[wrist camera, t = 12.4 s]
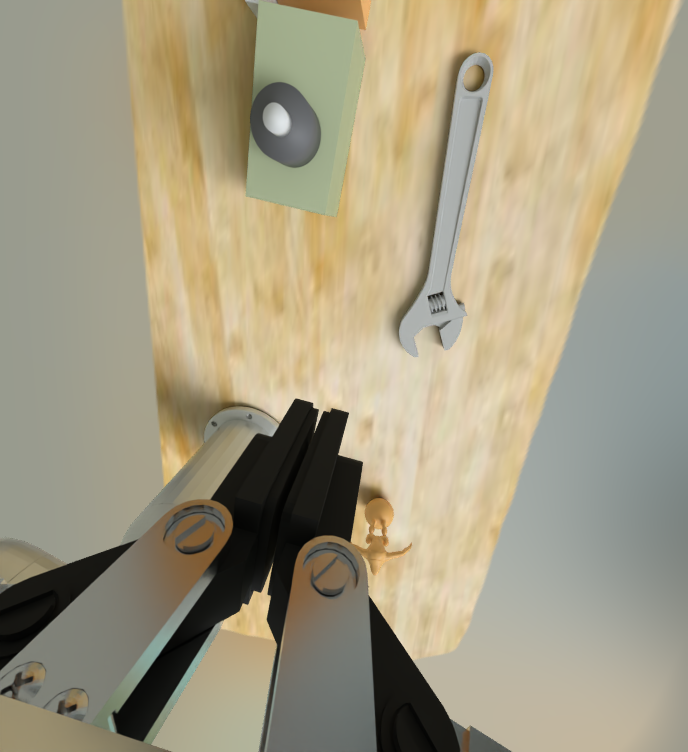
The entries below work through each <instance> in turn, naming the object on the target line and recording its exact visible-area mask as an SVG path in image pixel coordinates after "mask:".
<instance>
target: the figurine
mask: <svg viewBox="0 0 688 752" xmlns="http://www.w3.org/2000/svg"><path fill="white" fill-rule="evenodd" d="M393 516H394V512H393V508H392V506H391V504H390V503H389V502H388V501H386V500H385V499H382V498H375V499H373V500H371V501H370V502H369V503H368V504H367V506H366V509H365V517H366V520H367V522H368V523H369V525H370V527H369V532H370V534H368V535H367V538H366V542H367V544H370V543H371V544H370V546H369V547H368V548H367V549H363V548H361V547H359V546H357V545H354V544H352V542H350V543H351V544H352V545H353V546H354V547H355V548H356V549H357V550H358V551H359V552H360V554H361V555H362V556H364V557H365V558H366V559H367V560H368V561H369V564H370V568H371V571H372V573H373V575H377V574H378V572H379V570H380V568H381V566H382V564H383V563H384V562H386V561H388V560H391V559H393V558H398V557H401V556H403V555H405V554H406V553H407V552H408V551H409V550H410V549H411V546H412V543H411V544H410V546H408V547H407V548H405V549H404V550H402V551H398V552H392V553H388V552H386V550H385V548H384V546H388V544H389V542H388V538H387V537H386V534H387V528H386V527H388V526H389V525H390V524H391V522H392V520H393ZM375 528H376V529H382V534H383V536H380V537H379V536H375V535H373V532H374V529H375Z"/></svg>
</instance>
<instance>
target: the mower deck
mask: <svg viewBox="0 0 688 752" xmlns="http://www.w3.org/2000/svg"><path fill="white" fill-rule="evenodd" d="M245 2H246V3H247V5H248V6H249V7H250V9H251V10H252V12H253V13H254V15H255V16H256V18H257V33H256V48H255V64H254V79H253V94H252V108H251V114H250V139H249V154H248V169H247V185H246V196H247V197H251V198H255V199H259V200H264V201H268V202H272V203H276V204H280V205H284V206H289V207H293V208H297V209H301V210H305V211H309V212H314V213H318V214H322V215H327V216H333V217H337V213H338V207H339V202H340V196H341V191H342V185H343V180H344V174H345V169H346V163H347V158H348V152H349V147H350V141H351V136H352V130H353V125H354V119H355V114H356V108H357V103H358V97H359V92H360V86H361V81H362V75H363V70H364V64H365V54H364V49H363V44H362V40H361V35H360V30H359V25H358V21H357V20H352V19H347V18H343V17H338V16H333V15H328V14H323V13H318V12H314V11H309V10H304V9H299V8H294V7H289V6H285V5H280V4H278V2H277V0H245Z"/></svg>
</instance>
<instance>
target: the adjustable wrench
mask: <svg viewBox="0 0 688 752" xmlns="http://www.w3.org/2000/svg"><path fill="white" fill-rule="evenodd" d="M473 65H480V66H481V67H482V68H483V70H484V73H485V79H484V82H483V84H482V85H481V87H480V88H479V89H477V90H476V91H468V90H467V89H466V88H465V87H464V84H463V77H464V74H465V72H466V70H467V69H468V68H469V67H471V66H473ZM492 77H493V64H492V61H491V59H490V57H489V56H487V55H486V54H485V53H480V52H479V53H474V54H472V55H471V56H469V57H468V58H467V59H466V60H465V61H464V62H463V64H462V66H461V68H460V70H459V73H458V77H457V80H456V87H455V94H454V101H453V107H452V114H451V121H450V128H449V134H448V141H447V148H446V155H445V161H444V168H443V175H442V182H441V188H440V195H439V202H438V209H437V215H436V222H435V229H434V236H433V242H432V249H431V256H430V263H429V269H428V274H427V278H426V280H425V283H424V285H423V287H422V289H421V290H420V292H419V294H418V296H417V298H416V299H415V301H414V302H413V304H412V305H411V306H410V308H409V309H408V311H407V312H406V313H405V315H404V316H403V318H402V320H401V322H400V326H399V337H400V342H401V344H402V346H403V347H404V349H405V350H406V352H407V353H409V354H410V355H412V356H413V357H419V356H418V351H417V347H416V344H415V340H414V336H415V335H416V334H417V333H419V332H420V331H421V330H422V329H423V328H424V327H427V326H431V325H435V326H438V327H439V332H440V336H441V340H442V344H443V348H444V350H449V349H450V348H451V347H452V346H453V344H454V343H455V342H456V340H457V338H458V336H459V334H460V331H461V327H462V322H463V317H464V316H467V313H466V312H465V306H464V303H460V304H457V302H456V300H455V298H454V296H453V294H452V290H451V273H452V268H453V263H454V258H455V253H456V249H457V244H458V239H459V234H460V230H461V225H462V220H463V215H464V210H465V206H466V201H467V196H468V191H469V187H470V182H471V177H472V172H473V167H474V163H475V158H476V153H477V148H478V144H479V139H480V134H481V129H482V124H483V120H484V115H485V110H486V105H487V101H488V96H489V91H490V86H491V81H492ZM439 292H442V293H443V295H442V296H441V295H440V294H439ZM436 293H438V297H437V296H436ZM432 294H435V295H434V298H433V297H432V296H430V299H428V297H427V296H429V295H432ZM441 307H443V308H441ZM437 308H439V309H437ZM434 309H435V310H434ZM433 310H434V311H433Z"/></svg>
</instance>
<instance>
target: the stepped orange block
mask: <svg viewBox="0 0 688 752" xmlns="http://www.w3.org/2000/svg"><path fill="white" fill-rule="evenodd" d="M277 2H278V4H280V5H285V6H289V7H294V8H299V9H304V10H309V11H314V12H318V13H323V14H328V15H333V16H338V17H343V18H347V19H352V20H357V21H358V25H359V29H364V30H366V26H367V21H368V15H369V10H370V4H371V0H277Z"/></svg>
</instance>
